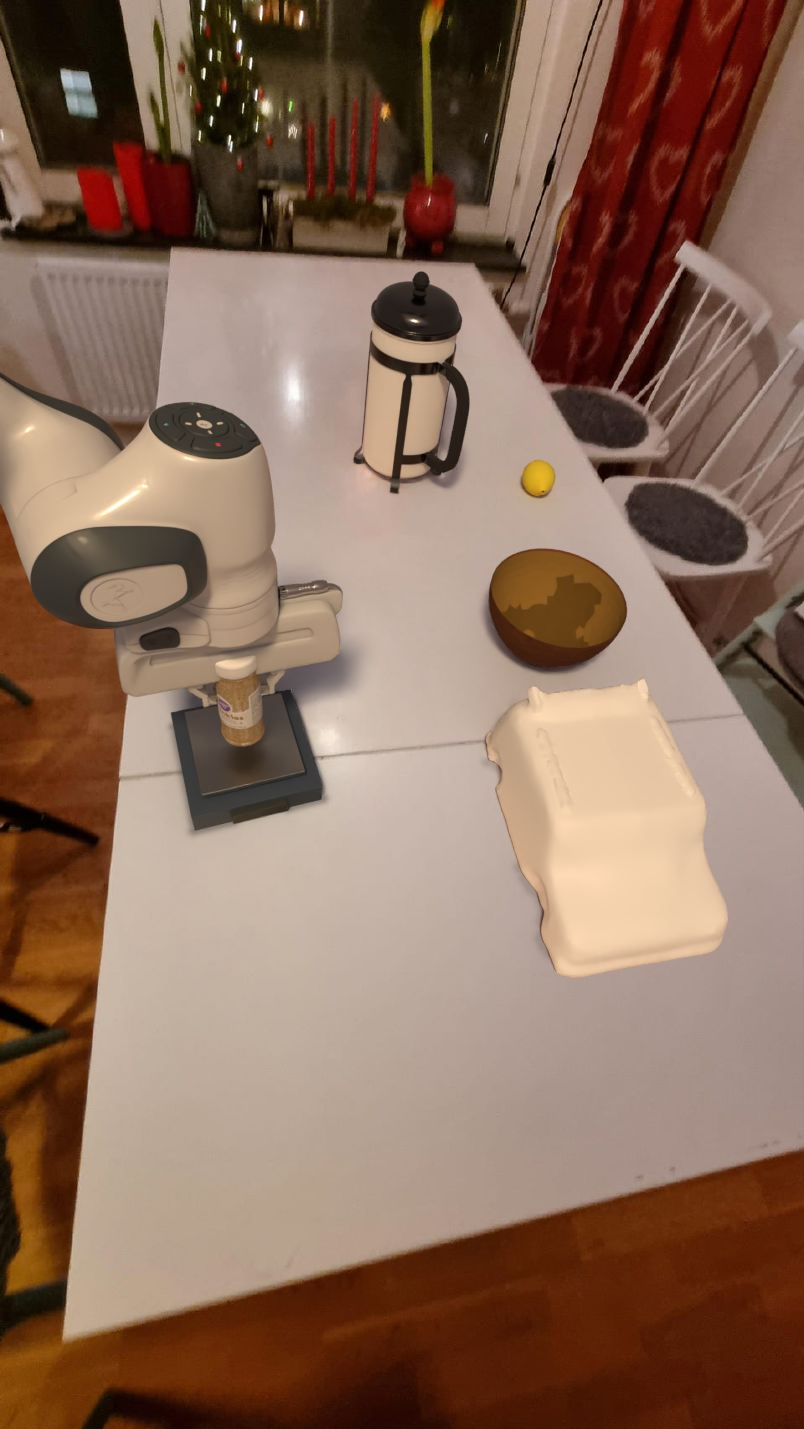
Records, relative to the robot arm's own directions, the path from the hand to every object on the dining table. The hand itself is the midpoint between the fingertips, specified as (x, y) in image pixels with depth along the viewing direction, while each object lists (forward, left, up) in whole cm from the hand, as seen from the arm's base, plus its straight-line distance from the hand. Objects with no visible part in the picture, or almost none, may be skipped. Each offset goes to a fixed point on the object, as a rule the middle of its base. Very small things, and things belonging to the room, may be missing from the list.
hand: (237, 695), depth 70 cm
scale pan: (0, 0, -10) cm, 10 cm away
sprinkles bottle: (0, 0, -6) cm, 6 cm away
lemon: (+57, +40, -13) cm, 71 cm away
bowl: (+42, +8, -13) cm, 45 cm away
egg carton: (+35, -20, -13) cm, 42 cm away
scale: (0, 0, -13) cm, 13 cm away
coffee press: (+37, +49, -13) cm, 63 cm away
